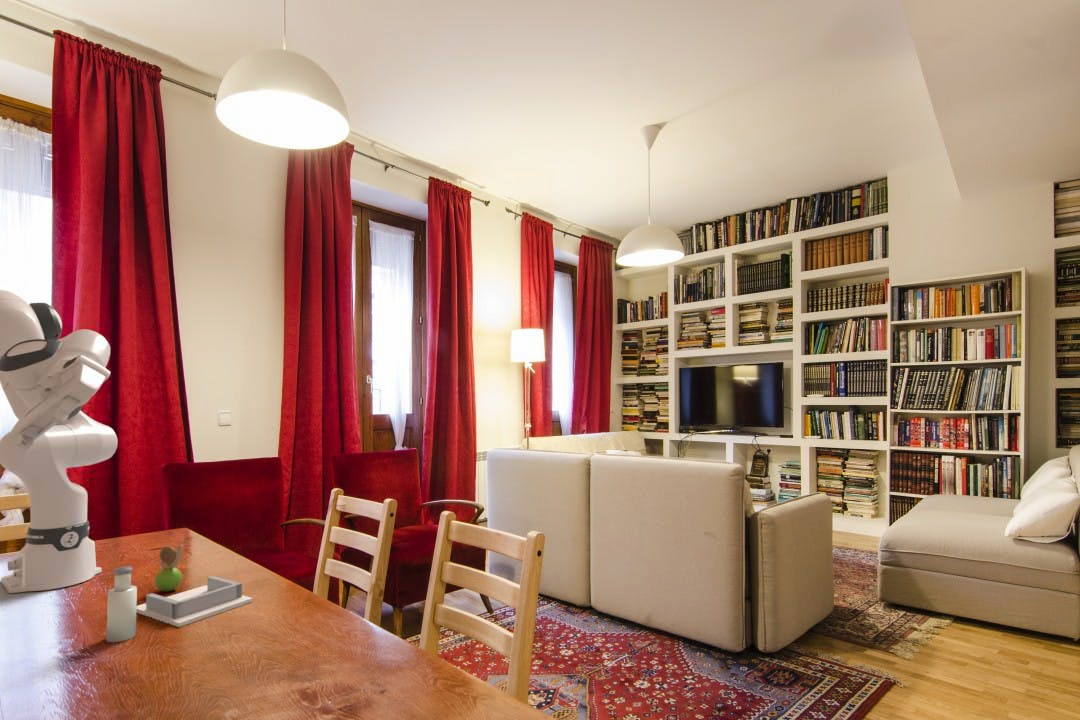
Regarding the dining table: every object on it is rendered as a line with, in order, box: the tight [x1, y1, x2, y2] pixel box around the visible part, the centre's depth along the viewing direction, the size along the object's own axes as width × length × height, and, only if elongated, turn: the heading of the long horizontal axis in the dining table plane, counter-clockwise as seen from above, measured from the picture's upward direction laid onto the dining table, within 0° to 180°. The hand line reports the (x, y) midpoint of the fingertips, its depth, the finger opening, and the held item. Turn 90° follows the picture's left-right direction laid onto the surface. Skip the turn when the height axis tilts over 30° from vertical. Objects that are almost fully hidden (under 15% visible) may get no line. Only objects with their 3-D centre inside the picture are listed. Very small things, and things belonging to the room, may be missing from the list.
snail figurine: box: [154, 539, 185, 593], centre depth 139 cm, size 5×6×12 cm
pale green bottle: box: [106, 565, 138, 643], centre depth 114 cm, size 5×5×13 cm
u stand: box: [136, 575, 254, 628], centre depth 129 cm, size 18×16×4 cm
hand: (40, 434), depth 109 cm, fingers open, 8 cm apart
